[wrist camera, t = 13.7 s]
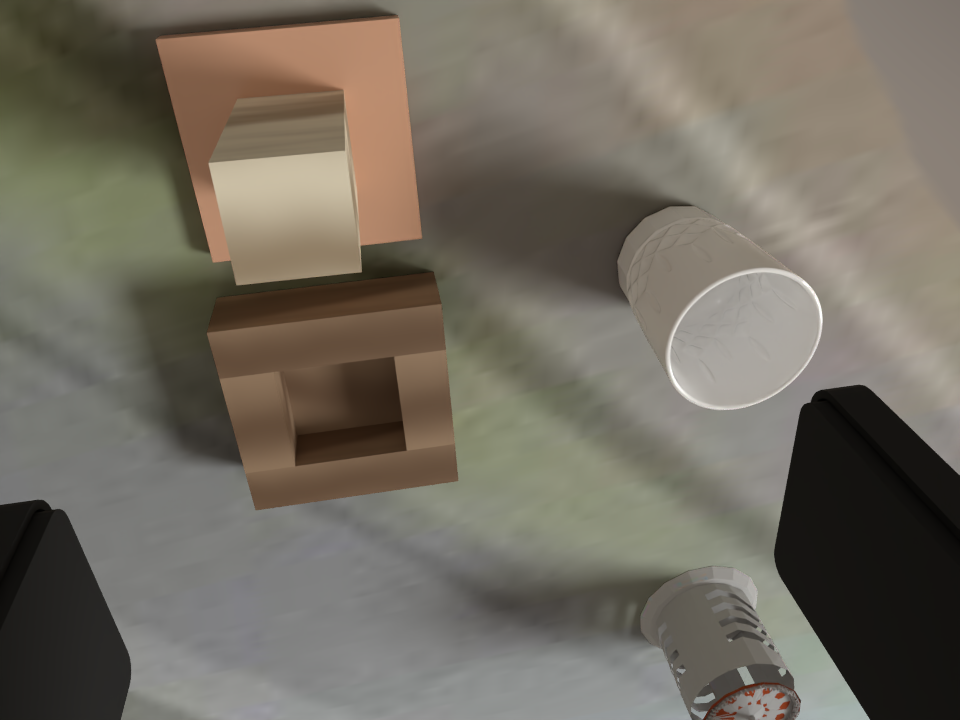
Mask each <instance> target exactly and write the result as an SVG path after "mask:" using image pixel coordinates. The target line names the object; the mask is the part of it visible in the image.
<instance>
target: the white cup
mask: <svg viewBox="0 0 960 720" xmlns="http://www.w3.org/2000/svg"><path fill="white" fill-rule="evenodd" d="M617 266H618V276H619V285H620V287H621V288H622V290H623V292H624V293H625V295H626V297H627V299H628V300H629V302H630V305H631V308H632V311H633V313H634V315H635V317H636V319H637V321H638V323H639V325H640V327H641V329H642V331H643V333H644V335H645V337H646V339H647V341H648V342H649V344H650V346H651V348H652V349H653V351H654V353H655V355H656V356H657V358H658V360H659V362H660V363H661V365H662V367H663V369H664V370H665V372H666V374H667V376H668V378H669V379H670V381H671V383H672V385H673V386H674V388H675V389H676V390H677V391H678V392H679V393H680V394H681V395H682V396H683V397H684V398H685V399H687V400H688V401H690V402H692V403H694V404H696V405H698V406H701V407H704V408H709V409H715V410H732V409H739V408H744V407H748V406H751V405H754V404H757V403H759V402H762V401H764V400H766V399H768V398H770V397H772V396H773V395H775V394H777V393H778V392H780V391H781V390H782V389H784V388H785V387H786V386H788V385H789V384H790V383H791V382H792V381H793V380H794V379H795V378H796V377H797V376H798V375H799V374H800V373H801V372H802V371H803V369H804V368H805V367H806V365H807V364H808V363H809V361H810V359H811V358H812V356H813V354H814V352H815V350H816V348H817V345H818V343H819V340H820V336H821V331H822V310H821V305H820V302H819V300H818V297H817V295H816V294H815V292H814V290H813V289H812V288H811V287H810V285H809V284H808V283H807V282H806V281H804V280H803V279H802V278H800V277H799V276H798V275H796V274H795V273H794V272H792V271H791V270H790V269H788V268H787V267H786V266H784V265H783V264H782V263H780V262H779V261H778V260H776V259H775V258H774V257H773V256H771V255H770V254H769V253H767V252H766V251H765V250H763V249H762V248H761V247H759V246H758V245H757V244H755V243H753V242H752V241H751V240H749V239H748V238H746V237H745V236H743V235H742V234H741V233H739V232H738V231H737V230H735V229H734V228H732V227H731V226H729V225H727V224H724V223H723V222H722V221H720V220H719V219H718V218H716V217H715V216H713V215H711V214H709V213H707V212H705V211H703V210H701V209H700V208H698V207H696V206H670V207H667V208H665V209H663V210H661V211H659V212H656V213H654V214H652V215H650V216H648V217H645V218H644V219H643V220H642V221H641V222H640V223H639V224H638V225H637V227H636V228H635V229H634V230H633V231H632V232H631V233H630V234H629V235H628V236H627V237H626V239H625V242H624V244H623V247H622V250H621V252H620V255H619V258H618V260H617Z"/></svg>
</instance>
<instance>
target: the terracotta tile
mask: <svg viewBox="0 0 960 720" xmlns="http://www.w3.org/2000/svg"><path fill="white" fill-rule="evenodd" d="M156 43H157V47H158V51H159V55H160V58H161V62H162V66H163V70H164V74H165V78H166V82H167V86H168V90H169V93H170V97H171V101H172V105H173V109H174V113H175V117H176V121H177V124H178V128H179V132H180V136H181V140H182V144H183V148H184V152H185V156H186V159H187V163H188V167H189V171H190V175H191V179H192V183H193V187H194V190H195V194H196V198H197V202H198V206H199V210H200V214H201V218H202V222H203V225H204V229H205V233H206V237H207V241H208V245H209V249H210V253H211V257H212V260H213V262H222V261H231V259H230V255H229V251H228V246H227V242H226V238H225V233H224V229H223V225H222V220H221V216H220V211H219V207H218V203H217V198H216V194H215V190H214V185H213V181H212V177H211V172H210V168H209V164H208V163H209V160H210V158H211V156H212V154H213V152H214V149H215V147H216V145H217V143H218V141H219V138H220V136H221V134H222V132H223V130H224V127H225V125H226V123H227V121H228V119H229V116H230V114H231V112H232V110H233V107H234V105H235V103H236V101H237V99H239V98H252V97H264V96H276V95H288V94H300V93H312V92H324V91H336V90H344V96H345V103H346V111H347V118H348V126H349V133H350V141H351V149H352V156H353V164H354V171H355V179H356V186H357V198H358V215H359V232H360V246H361V245H370V244H379V243H387V242H396V241H405V240H413V239H422V233H421V223H420V213H419V204H418V194H417V185H416V175H415V166H414V156H413V147H412V137H411V128H410V118H409V108H408V99H407V89H406V80H405V70H404V61H403V51H402V42H401V32H400V23H399V17H398V15H393V16H381V17H370V18H358V19H347V20H335V21H324V22H312V23H301V24H290V25H278V26H267V27H255V28H244V29H232V30H221V31H209V32H198V33H186V34H175V35H163V36H159V37H158V38H157V39H156Z"/></svg>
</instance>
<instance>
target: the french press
mask: <svg viewBox="0 0 960 720" xmlns="http://www.w3.org/2000/svg"><path fill="white" fill-rule="evenodd" d="M756 602H757V588H756V587H755V585H754V583H753V581H752V580H751V578H750V576H748V575H746V574H744V573H742V572H740V571H739V570H737V569H735V568H728V567H717V566H710V567H705V568H700V569H696V570H691V571H687V572H685V573H683V574H681V575H679V576H677V577H675V578H673V579H671V580H670V581H668V582H666V583H665V584H663V585H662V586H661V587H660V588H659V589H658V590H657V591H656V592H655V593H654V594H653V595H652V596H651V597H649V599H648V601H647V603H646V605H645V607H644V609H643V611H642V613H641V615H640V621H641V632H642V633H643V635H644V636H645V637H646V639H647V640H648V641H649V643H650V644H652V645H654V646H657V647H659V648H661V649H663V651H664V654H665V657H666V656H667V658H668V660H667V661H668V663H669V666H670V669H671V672H672V671H673V672H674V674H673V672H672V674H673V675H674V677H675V680H676V683H677V686H678V685H679V687H680V688H679V687H678V688H679V690H680V692H681V696H682V698H683V700H684V703H685V705H686V707H687V710H688V712H689V714H690V716H691V718H692V720H795V719H796V718H797V717H798V716H797V715H799V711H800V703H801V700H800V699H799V697H798V695H797V694H796V692H795V691H794V679H793V676H792V675H791V673H790V671H789V669H788V667H787V665H786V664H785V662H784V661H783V659H782V657H781V655H780V653H779V651H778V650H777V648H776V647H775V645H774V643H773V641H772V639H771V637H770V636H769V637H770V638H768V637H767V636H766V633H767V631H766V629H765V627H764V625H763V623H762V621H761V620H760V618H759V616H758V614H757V613H756V611H755V608H756ZM759 620H760V622H761V623H762V624H760V623H759ZM757 627H760V628H761V629H762V632H759V631H758V630H756V628H757ZM767 634H768V633H767ZM768 635H769V634H768ZM731 639H732V640H733V641H731V642H729V641H730V640H731ZM764 640H766V641H767V642H769V643H770V645H769V646H766V645H765V644H763V641H764ZM774 647H775V648H776V650H777V651H778V653H777V652H775V651H774ZM667 658H666V659H667ZM671 663H672V664H673V668H672V667H671ZM744 666H746V667H747V669H748V671H749V673H750V675H751V676H752V678H753V680H754V682H755V684H751V685H746V686H745V684H744V682H743V680H742V678H741V676H740V674H739V672H738V670H737V668H740V667H744ZM678 668H679V669H686V671H685V672H684V673H683V674H681V673H679V672H678V671H676V670H677V669H678ZM780 668H784V669H786V674H785V675H784V676H783V677H782V676H781V675H780V673H779V671H778V670H779V669H780ZM677 677H678V678H679V682H680V683H679V682H678V681H677ZM708 683H709V685H707V684H708ZM706 685H707V686H706ZM704 686H705V687H704ZM710 693H714V696H715V699H714V700H712V701H710V702H708V703H700V704H695V703H693V701H694V699H695V698H696V697H700V696H706V695H708V694H710ZM691 707H692V708H694V709H695V710H697V711H698V712H704V711H708V712H707V714H706V715H705V717H704V719H701V718H699V717H698V716H696V715H695V714H693V713H692V712H691Z"/></svg>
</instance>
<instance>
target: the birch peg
mask: <svg viewBox="0 0 960 720" xmlns="http://www.w3.org/2000/svg"><path fill="white" fill-rule="evenodd" d="M208 164H209V168H210V172H211V177H212V181H213V185H214V190H215V194H216V198H217V203H218V207H219V211H220V216H221V220H222V225H223V229H224V233H225V238H226V242H227V246H228V251H229V255H230V259H231V264H232V268H233V272H234V277H235V281H236V285H245V284H254V283H264V282H273V281H283V280H292V279H301V278H311V277H320V276H330V275H339V274H349V273H358V272H362V266H361V249H360V232H359V215H358V198H357V186H356V179H355V171H354V164H353V156H352V149H351V141H350V133H349V126H348V118H347V111H346V103H345V96H344V90H336V91H324V92H312V93H300V94H288V95H276V96H264V97H252V98H239V99H237V101H236V103H235V105H234V107H233V110H232V112H231V114H230V116H229V119H228V121H227V123H226V125H225V127H224V130H223V132H222V134H221V136H220V138H219V141H218V143H217V145H216V147H215V149H214V152H213V154H212V156H211V158H210V160H209V163H208Z"/></svg>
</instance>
